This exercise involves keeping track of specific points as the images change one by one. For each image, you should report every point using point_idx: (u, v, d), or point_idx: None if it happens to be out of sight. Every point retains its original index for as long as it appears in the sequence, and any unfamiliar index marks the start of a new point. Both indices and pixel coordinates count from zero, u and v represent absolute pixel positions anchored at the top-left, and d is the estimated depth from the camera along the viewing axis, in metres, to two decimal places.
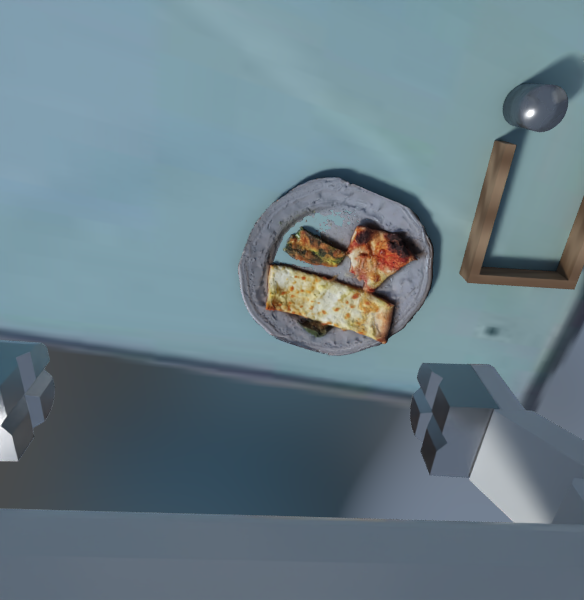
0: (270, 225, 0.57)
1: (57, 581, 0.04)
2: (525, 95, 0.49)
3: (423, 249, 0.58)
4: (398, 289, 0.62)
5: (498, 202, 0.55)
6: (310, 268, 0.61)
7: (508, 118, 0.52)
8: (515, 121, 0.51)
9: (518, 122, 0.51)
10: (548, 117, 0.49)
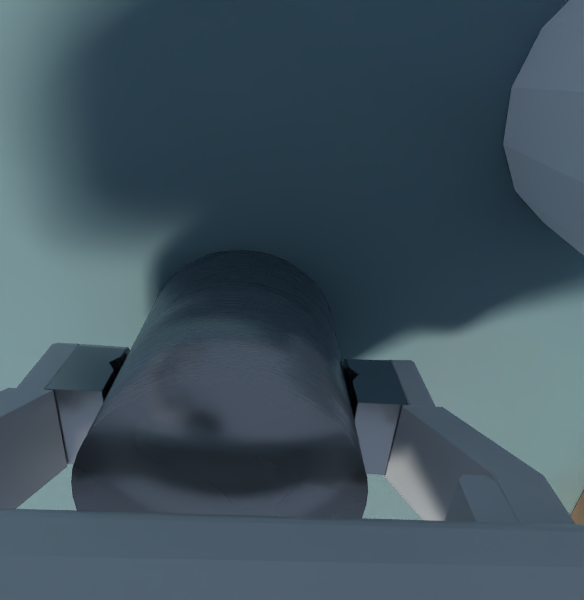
0: None
1: (57, 581, 0.04)
2: None
3: None
4: None
5: None
6: None
7: None
8: None
9: None
10: None
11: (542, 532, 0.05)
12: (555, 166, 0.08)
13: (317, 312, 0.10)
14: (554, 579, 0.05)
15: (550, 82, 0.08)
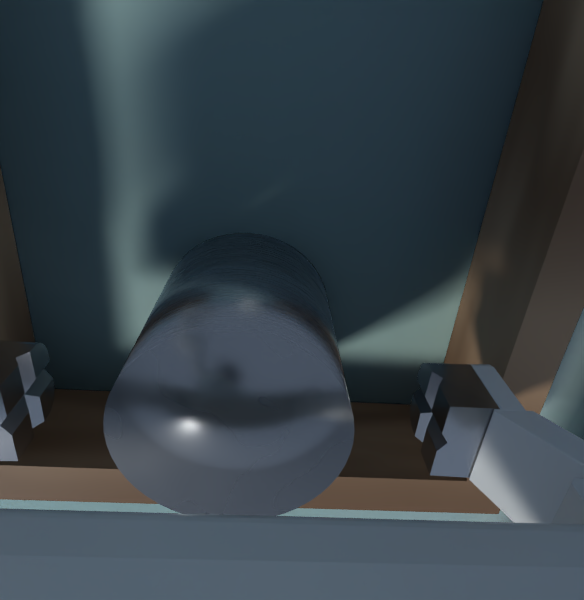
0: None
1: (57, 581, 0.04)
2: (131, 351, 0.09)
3: None
4: None
5: None
6: None
7: None
8: None
9: None
10: (261, 468, 0.09)
11: (542, 532, 0.05)
12: None
13: (312, 285, 0.11)
14: (554, 579, 0.05)
15: None
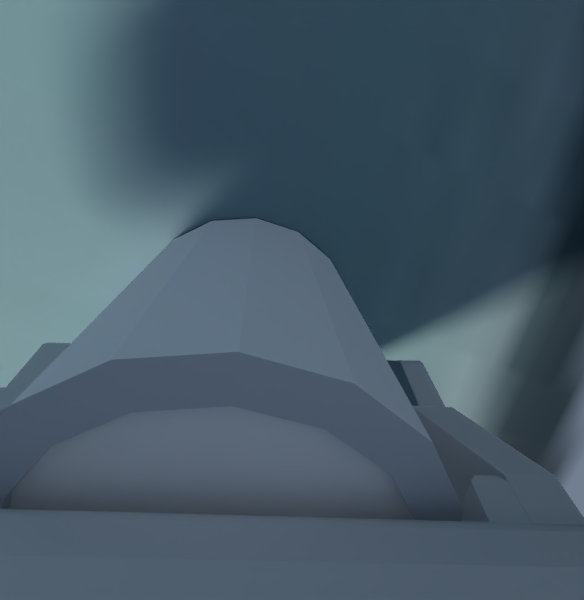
0: None
1: (57, 581, 0.04)
2: None
3: None
4: None
5: None
6: None
7: None
8: None
9: None
10: None
11: (542, 532, 0.05)
12: None
13: None
14: (554, 579, 0.05)
15: None
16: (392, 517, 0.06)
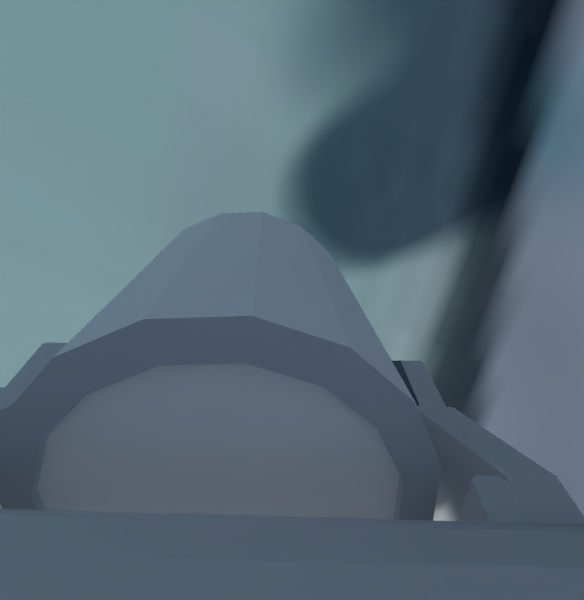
0: None
1: (57, 581, 0.04)
2: None
3: None
4: None
5: None
6: None
7: None
8: None
9: None
10: None
11: (542, 532, 0.05)
12: None
13: None
14: (554, 579, 0.05)
15: None
16: (379, 472, 0.07)
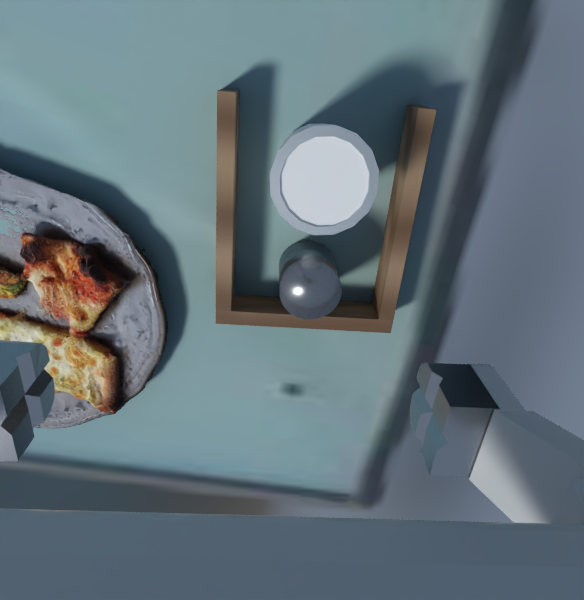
0: None
1: (57, 581, 0.04)
2: (284, 271, 0.34)
3: (137, 271, 0.36)
4: (124, 331, 0.40)
5: (231, 194, 0.32)
6: None
7: None
8: None
9: None
10: (317, 302, 0.34)
11: (542, 532, 0.05)
12: None
13: (329, 256, 0.36)
14: (554, 579, 0.05)
15: None
16: (363, 171, 0.28)
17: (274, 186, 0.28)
